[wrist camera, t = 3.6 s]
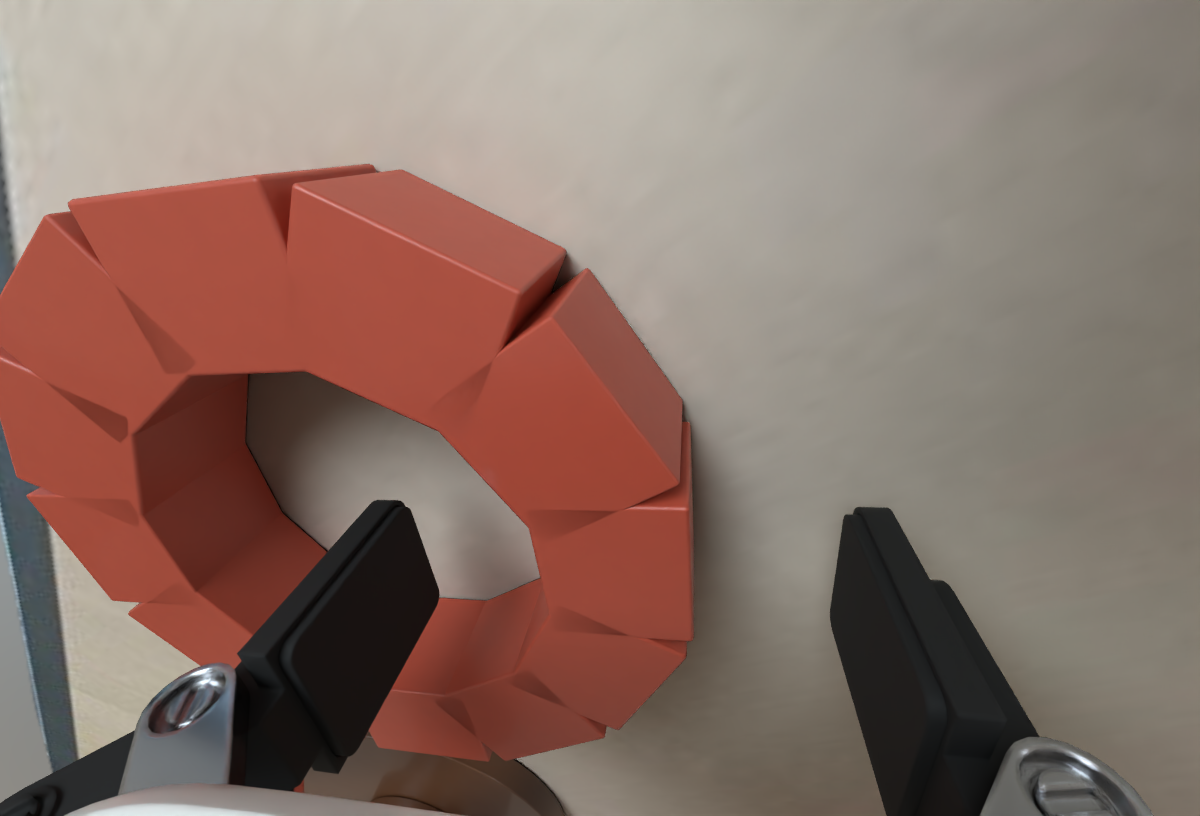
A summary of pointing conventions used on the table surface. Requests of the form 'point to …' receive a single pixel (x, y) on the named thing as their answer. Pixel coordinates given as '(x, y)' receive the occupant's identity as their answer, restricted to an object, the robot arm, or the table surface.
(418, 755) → the brown pedestal stand
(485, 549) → the table surface
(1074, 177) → the table surface
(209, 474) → the ring
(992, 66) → the table surface
